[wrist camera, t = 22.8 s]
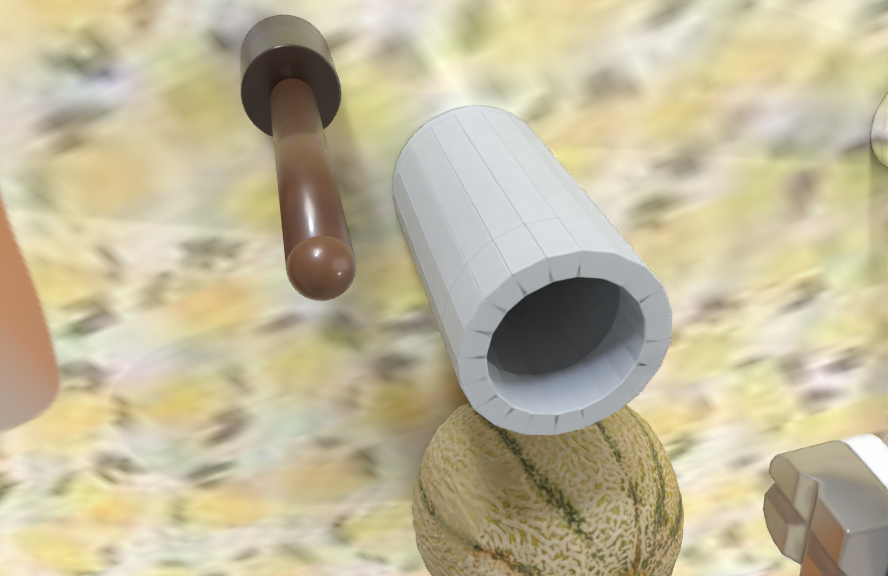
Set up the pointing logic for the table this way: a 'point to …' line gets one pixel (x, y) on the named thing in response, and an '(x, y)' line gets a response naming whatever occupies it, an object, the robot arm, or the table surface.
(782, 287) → the table surface
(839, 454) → the robot arm
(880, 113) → the glass
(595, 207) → the grey hollow cylinder
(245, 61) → the brown pestle
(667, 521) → the cantaloupe
